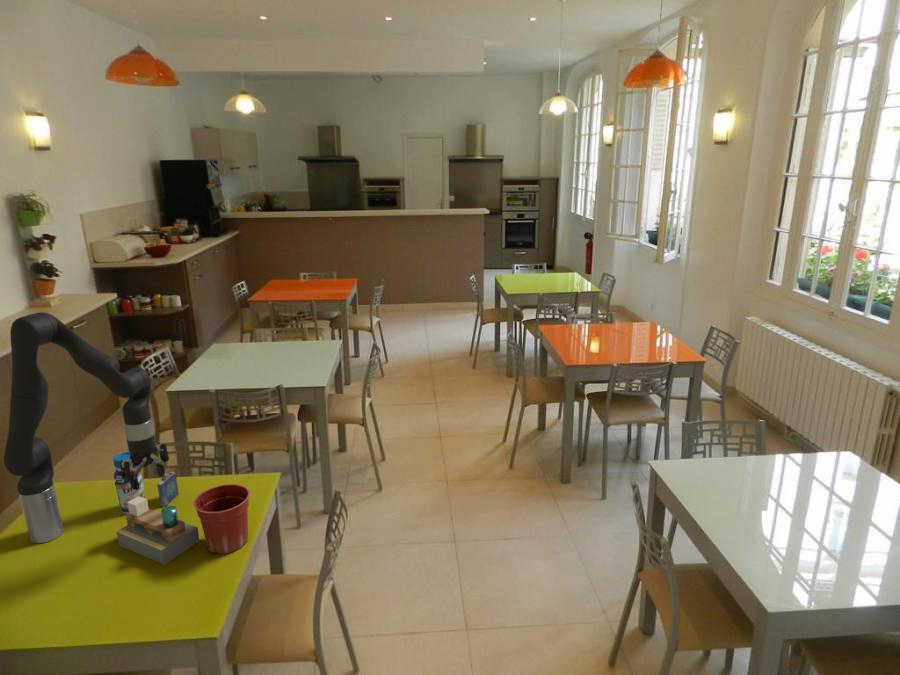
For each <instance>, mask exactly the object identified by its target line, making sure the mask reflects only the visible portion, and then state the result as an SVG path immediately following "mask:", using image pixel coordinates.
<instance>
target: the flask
mask: <svg viewBox="0 0 900 675" xmlns="http://www.w3.org/2000/svg"><path fill="white" fill-rule="evenodd" d="M156 486H157V490H158V496H159V502H160V507H162V508H164V507H167V506H169V505H170V503H171V501H172V500H173V501H174V498H175V499H176V498H177V497H178V496H179V495H180V493H179V492H180V491H179V489H178V488H179V485H178V478H177V472H176V471H170V472H169V473H166V472H165V474H164V476H163V477H161V479H160V480H159V481H158V482H157V485H156ZM177 495H178V496H177ZM176 496H177V497H176ZM173 501H172V502H173ZM168 504H169V505H168Z"/></svg>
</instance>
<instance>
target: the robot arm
mask: <svg viewBox="0 0 900 675" xmlns="http://www.w3.org/2000/svg"><path fill="white" fill-rule="evenodd" d="M9 336H10V347H11V348H10V349H11V350H10V351H11V386H10V387H11V388H10V401H9V405H10V406H9V407H10V408H9V421H8V432H7V433H8V434H7V437H6V438H7V439H6V443H5V448H4V454H3V462H4V466H5V468H6V470H7V471H8V473H10V474H11V475H13V476H16V477H20V479H19V480H18V482H17V485H16V488H17V493H18V497H19V500H20V505H21V509H22V513H23V516H24V520H25V524H26V528H27V532H28V536H29V540H30V542H31V543H33V544H43V543H47V542H51V541H53V540H56V539H57V538H59V537H60V536H61V535H62V534H64V532H65V528H64V525H63V519H62V516H61V512H60V511H61V510H60V506H59V503H58V498H57V494H56V491H55V486H54V481H53V478H54V464H53V460H52V459H53V458H52V453H51V450H50V447H49V445H48V444H47V443H46V441H45V440H44V439H42V438H40V437H37V436H36V433H37V430H38V428H39V426H40V424H41V421H42V419H43V418H44V415H45V413H46V410H47V408H48V402H49V389H50V388H49V383H48V380H47V379H46V377H45V376H44V374H43V373H42V371H41V370H40V368H39V366H38V352H39V347H40V346H43V345H47V344H49V343H52V344H54V345H57V346H59V347H61V348H63V350H66V351H67V352H68V354H69V355H70V356H71V358H72V360H73V362H74V363H75V364H76V365H77V366H78V367H79V368H80V369H81V370H83V371H84V372H86V373H88V374H89V375H91V376H93V377H95V378H97V379H99V380H100V381H101V383H102V384H103V385H104V386H105V387H107V389H108V390H109V391H110V392H111V393H112V394H114V395H115V396H117V397H120V398H124V399H127V400H126V401H125V403H124V404H123V405H122V415H123V422H124V431H125V438H126V442H127V449H128V452H130V459H127V460H121V461H120V466H121V474H122V479H125V480H128V481H129V480H130V485H131V488H132V489H134V490H138V489H139V483H138V479H137V476H138V474H139V472H141V473H142V470H143V468H146V467H147V466H148V465H151V464H153V463H155V468H156V475H157V476H158V477H160V478H163V476H164V474H165V473H166V471H165V462H169V460H170V457H169V453H168V447H167V444H166V443H162V442H161V441H159V442H157V440H156V435H155V434H156V433H155V428H154V424H153V419H152V415H151V409H150V399H151V391H152V390H151V389H152V380H151V377H150V375H149V373H148V372H147V371H146V370H145V369H144V368H141V367H133V368H130V369H128V370H126V371H125V372H120V369H121V368H120V366H121V365H120V362H119V361H118V360H117V359H116V358H114V357H113V356H111V355H110V354H107V353H106V352H104V351H102V350H100V349H98V348H97V347H95V346H93V345H92V344H91V343H89V342H87V341H86V340H84V339H83V338H82V337H81V336H79V335H78V333H76V332H74V331H73V330H72V329H70V327H69V326H67V325H66V324H65V323H63V322H62V321H61V320H60V319H58V318H57V317H55V316H54V315H52V314H51V313H49V312H46V311H45V312H43V311H42V312H35V313H31V314H27V315H23V316H21V317H18V318H16V319H15V320H14V321H13V322H12V324H11V326H10V335H9ZM157 454H159V457H158V456H157ZM131 462H132V465H130V464H131ZM130 466H131V467H130ZM136 466H138V468H137V469H136V468H135V467H136Z"/></svg>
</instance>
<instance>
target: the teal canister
mask: <svg viewBox="0 0 900 675" xmlns="http://www.w3.org/2000/svg"><path fill="white" fill-rule="evenodd" d="M160 513H162V519H163V526H164V528H173V527H175V526H177V525H178V523H179V522H178V520H179V516H178V509H177V507H176V506H175V505H167V506H165V507H162V509H161V510H160Z"/></svg>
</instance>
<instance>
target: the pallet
mask: <svg viewBox="0 0 900 675" xmlns="http://www.w3.org/2000/svg"><path fill="white" fill-rule="evenodd" d="M125 519H126V523H127V524H126V526H127V525H128V526H130V527H133V528H135V527H137V526H139V525H144V529H145V533H147V534H150V535H154V534H155V533H157V532H158V531H159V532H161V533H162V534H163V540H165V541H167V542H170V543H171V542H173V541H174V540H176V539H178V538H179V537H181V536H182V535H184V534H185V533H186V529H185V523H186V522H185V521H183V520H182V519H181V520H180V519H178V522H179V523H178V525H177V526H175V527H173V528H164V526H163V519H162V513H161V511H160V512H159V511H157V510H154V509H151V508H149V510H148V511H147V512H145V513H143V514H141V515H140V516H138V517H137V516H135V515H132V514H129V513H127V514H126V513H125ZM184 522H185V523H184Z"/></svg>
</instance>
